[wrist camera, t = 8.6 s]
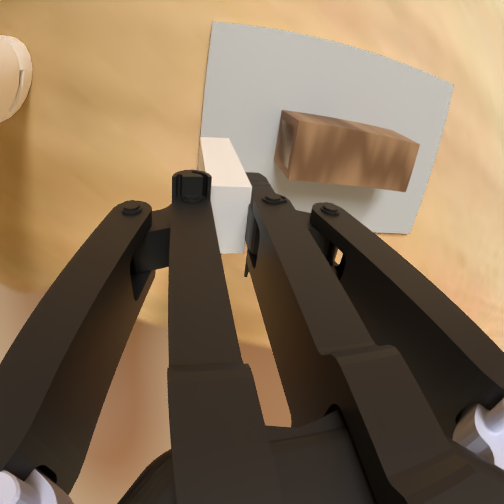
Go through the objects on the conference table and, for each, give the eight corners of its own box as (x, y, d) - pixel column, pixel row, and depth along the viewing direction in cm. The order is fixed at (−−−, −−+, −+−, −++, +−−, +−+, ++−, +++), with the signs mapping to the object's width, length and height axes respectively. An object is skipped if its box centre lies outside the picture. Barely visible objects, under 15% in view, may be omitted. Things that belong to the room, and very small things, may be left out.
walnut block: (299, 120, 21) (420, 144, 23) (281, 109, 24) (392, 130, 27) (288, 180, 23) (405, 192, 26) (273, 160, 27) (380, 173, 29)
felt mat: (212, 22, 20) (213, 21, 19) (451, 83, 25) (453, 84, 25) (194, 225, 29) (194, 227, 29) (407, 232, 35) (409, 233, 34)
